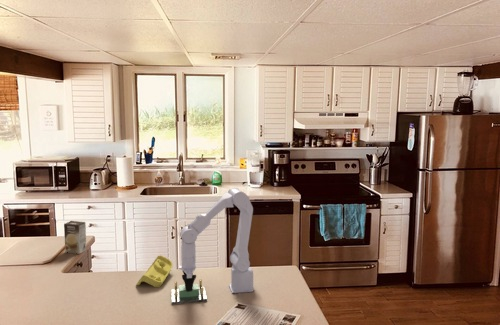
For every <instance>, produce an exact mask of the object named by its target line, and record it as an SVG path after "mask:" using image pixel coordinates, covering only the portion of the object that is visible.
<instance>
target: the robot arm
mask: <svg viewBox="0 0 500 325" xmlns="http://www.w3.org/2000/svg"><path fill="white" fill-rule="evenodd" d="M234 207H237V208H238V210H239V211H240V212H239V220H238V227H237V233H236V234H237V235H236V241H235V246H234V247H233V248H232V252H231V254H230V256H229V260H230V263H231V264H232V266H231V272H230V274H231V276H230V278H231V283H229V285H228V286H229V289H230V292H231V293H232V294H236V293H237V294H241V293H248V292H249V293H251V292H254V270H253V268H252V267H250V265H251V262H250V260H249V259H250V254H249V250H248V249H249V248H248V247H249V240H250V233H251V227H252V221H253V220H252V219H253V214H254V207H253V204H252V202H251V200H250V196H248V194H246V193H245V192H244V191H241V189H239V188H238V187H231V188H230V189H229V190H227V191H226V192H225V193H224V194H223V195H222V196H221V197H220V198H219V199H218V200H217V202H215V203H214V204H213V206H211V208H209V210H208V211H206V212H205V213H200V214H197V215H196V216H195V218H194V219H193V221H191V222H190V223H188V224H187V225H186V226H183V227H182V229H181V230H180V232H179V236H180V238H181V247H180V248H181V250H180V251H181V253H180V254H181V257H180V258H181V265H179V266H178V270H181V271H182V273H183V274H181V279H182V280H183V283H184V285H185V287H186V291H187V292H190V291H192V288H193V284H195V283H194V282H195V280H196V278H197V274H193V273H194V272H195V270H196V269H197V264H196V263H197V262H196V259H197V258H196V241H197V239H198V236H199V235H200V234H201V233H202V232H203V231H205V230H206V229H207V228H208V227H209V226H210V225H211V220H213V219H214V218H215V217H216V216H218V214H220V213H221V212H222V211H223V210H225V209H226V208H234Z"/></svg>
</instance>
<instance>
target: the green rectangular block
mask: <svg viewBox="0 0 500 325" xmlns="http://www.w3.org/2000/svg"><path fill="white" fill-rule="evenodd" d="M199 287H200V285H199V283H193V288H192V291H190V292H187V291H186V287H185V284H179V285H178V289H179V298H182V297H193V296H199Z"/></svg>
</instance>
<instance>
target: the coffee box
mask: <svg viewBox="0 0 500 325" xmlns="http://www.w3.org/2000/svg"><path fill="white" fill-rule="evenodd" d="M63 228H64V233H63V234H64V251H65V253H67V252H68V254H76V253H77V255H78V254H79V255H80V254H82V253H84V252H85V251H87V233H86V222H85V221H77V220H70V221H68V222H66V223H64V224H63Z"/></svg>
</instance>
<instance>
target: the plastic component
mask: <svg viewBox="0 0 500 325" xmlns="http://www.w3.org/2000/svg"><path fill="white" fill-rule="evenodd" d="M173 266H174V265H173V262H172V261H171V260H170V259H169V258H167V257H166V256H164V255H161V254H160V255H157V257H156V258H155V259H154V261H153V262H152V264H151V265H150V266H149V268H148V269H147V270H146V272H145V273H144V274H142V276H141V277H140V278H139V280H138V281H137V283H136V286H140V285H141V283H143V282H144V283H146V284H149V286H150V285H151V287H154V288H160V287H161V286H162V285H163V284H164V282H165V280H167V278H168V276H169V274H170V273H171V271H172V268H173Z"/></svg>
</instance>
